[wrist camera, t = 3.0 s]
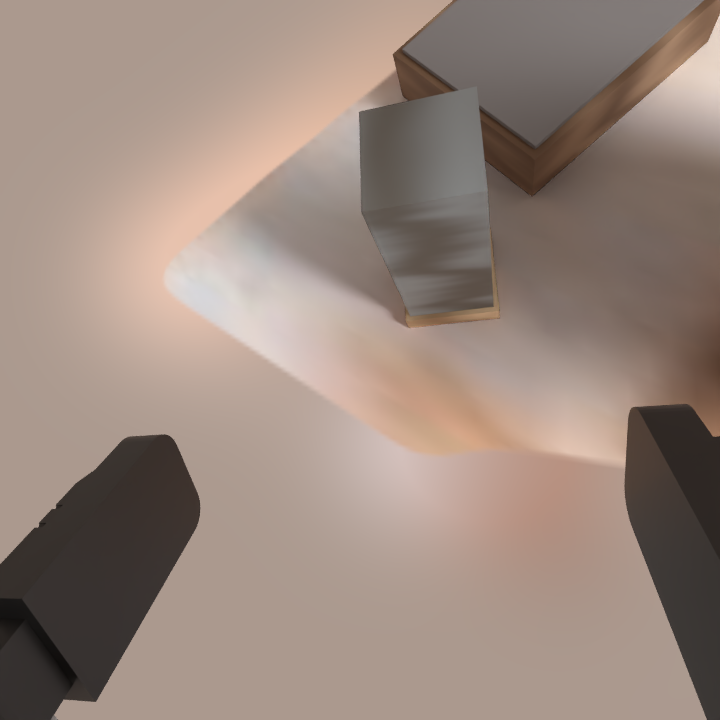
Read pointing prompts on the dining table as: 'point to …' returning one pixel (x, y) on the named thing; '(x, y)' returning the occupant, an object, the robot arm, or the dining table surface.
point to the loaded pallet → (431, 205)
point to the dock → (551, 69)
